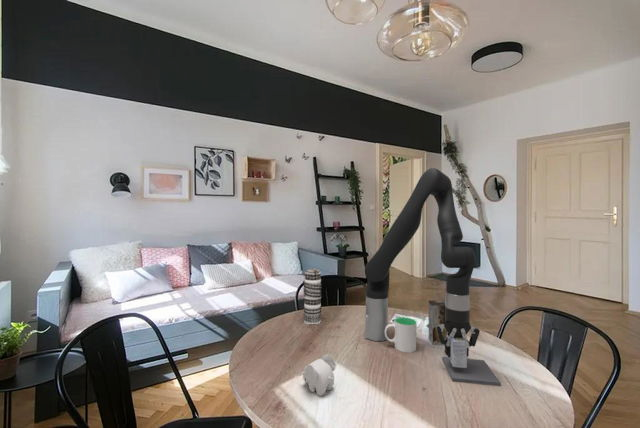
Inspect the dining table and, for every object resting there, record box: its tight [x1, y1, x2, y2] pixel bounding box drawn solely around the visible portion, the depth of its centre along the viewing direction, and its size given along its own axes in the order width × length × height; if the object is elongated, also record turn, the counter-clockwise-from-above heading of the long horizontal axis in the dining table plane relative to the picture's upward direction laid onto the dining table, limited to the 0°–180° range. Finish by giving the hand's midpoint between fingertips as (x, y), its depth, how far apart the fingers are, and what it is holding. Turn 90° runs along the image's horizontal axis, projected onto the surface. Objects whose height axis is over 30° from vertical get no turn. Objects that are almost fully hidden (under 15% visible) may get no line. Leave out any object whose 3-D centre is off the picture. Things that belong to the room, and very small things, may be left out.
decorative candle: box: [302, 267, 323, 325], centre depth 144 cm, size 9×9×25 cm
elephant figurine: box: [298, 353, 337, 397], centre depth 91 cm, size 10×12×9 cm
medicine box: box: [447, 337, 468, 368], centre depth 101 cm, size 8×4×9 cm, turn 169°
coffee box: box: [427, 300, 448, 346], centre depth 123 cm, size 9×6×16 cm
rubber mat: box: [441, 356, 502, 387], centre depth 100 cm, size 14×14×1 cm
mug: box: [385, 316, 417, 353], centre depth 118 cm, size 12×8×10 cm, turn 86°
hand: (456, 356), depth 101 cm, fingers closed on medicine box, 4 cm apart
